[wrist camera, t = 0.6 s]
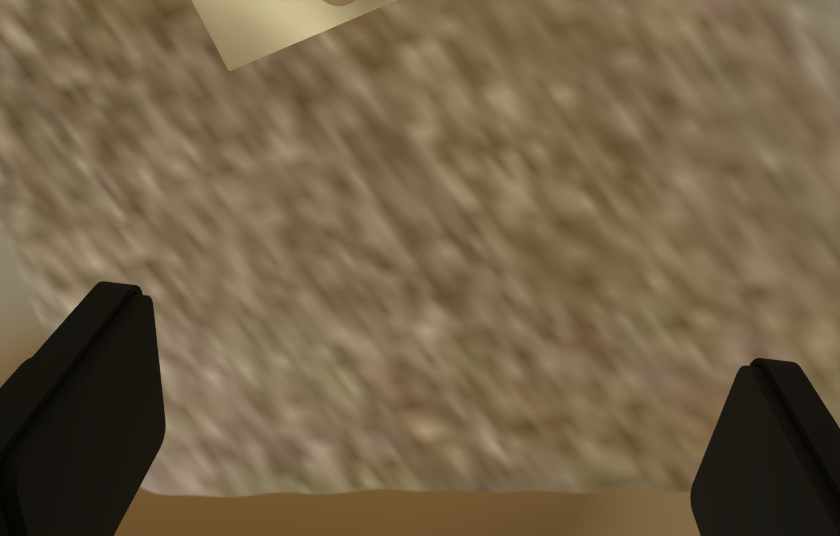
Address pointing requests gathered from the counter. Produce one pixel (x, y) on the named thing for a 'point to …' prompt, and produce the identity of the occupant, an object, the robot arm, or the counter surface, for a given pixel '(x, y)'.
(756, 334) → the counter surface
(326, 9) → the peg board
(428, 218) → the counter surface
